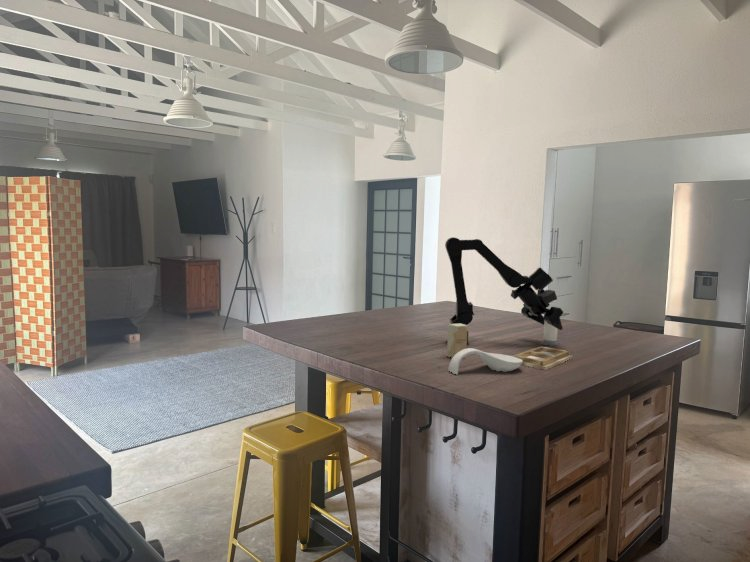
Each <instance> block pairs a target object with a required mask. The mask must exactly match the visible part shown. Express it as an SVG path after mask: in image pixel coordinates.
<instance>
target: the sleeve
mask: <svg viewBox="0 0 750 562" xmlns="http://www.w3.org/2000/svg"><path fill="white" fill-rule="evenodd" d="M557 341H558V329H557V328H555V327H553V326H552V325H550V324H548V323H547V322H546V321H545V320H544V325H543V340H542V345H543V344H544V345H543V346H546V345H549V346H548V347H556V346H557ZM555 345H556V346H555Z"/></svg>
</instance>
